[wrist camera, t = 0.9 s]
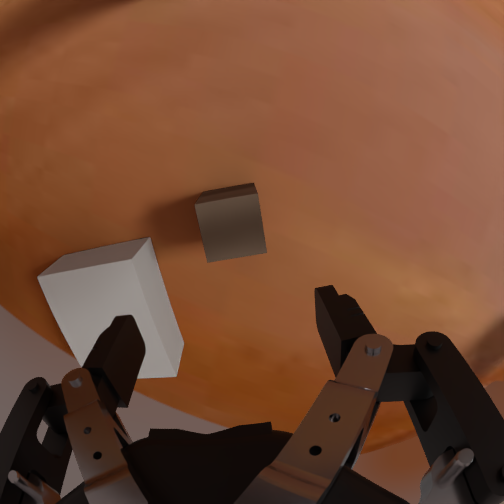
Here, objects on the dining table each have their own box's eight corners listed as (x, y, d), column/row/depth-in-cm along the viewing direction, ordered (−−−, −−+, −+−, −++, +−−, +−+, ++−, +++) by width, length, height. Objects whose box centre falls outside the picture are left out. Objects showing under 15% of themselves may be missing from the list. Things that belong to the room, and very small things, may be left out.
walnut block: (203, 191, 28) (194, 204, 23) (253, 182, 28) (257, 193, 23) (213, 239, 30) (207, 262, 24) (261, 231, 30) (266, 252, 24)
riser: (63, 255, 30) (37, 276, 24) (150, 236, 29) (131, 259, 24) (103, 348, 35) (88, 378, 29) (184, 343, 35) (176, 376, 29)
